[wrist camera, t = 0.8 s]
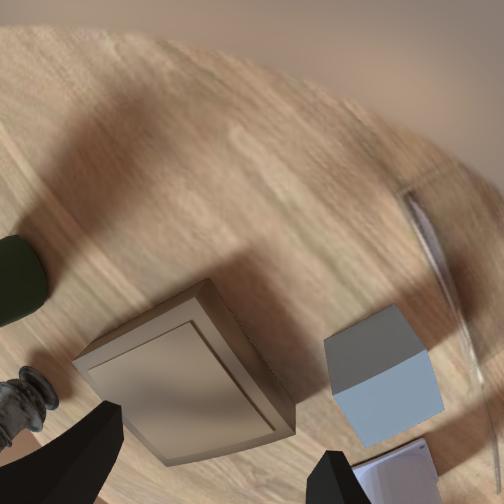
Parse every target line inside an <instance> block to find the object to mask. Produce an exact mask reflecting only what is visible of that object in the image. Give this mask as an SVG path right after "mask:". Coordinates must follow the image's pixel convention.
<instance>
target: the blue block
mask: <svg viewBox="0 0 504 504" xmlns="http://www.w3.org/2000/svg"><path fill="white" fill-rule="evenodd" d="M323 341H324V346H325V352H326V358H327V364H328V370H329V376H330V382H331V389H332V395H333V397H334V399H335V400H336V402H337V404H338V405H339V407H340V408H341V410H342V412H343V413H344V415H345V416H346V418H347V420H348V421H349V423H350V424H351V426H352V428H353V429H354V431H355V432H356V434H357V436H358V437H359V439H360V440H361V442H362V444H363V445H364V447H365V448H367V447H369V446H372V445H374V444H376V443H379V442H381V441H383V440H386V439H388V438H390V437H392V436H394V435H397V434H399V433H401V432H403V431H405V430H407V429H409V428H411V427H413V426H415V425H417V424H419V423H421V422H423V421H425V420H427V419H429V418H431V417H432V416H434V415H436V414H438V413H440V412H442V411H443V410H445V408H444V405H443V401H442V397H441V394H440V391H439V387H438V384H437V380H436V377H435V374H434V371H433V368H432V364H431V361H430V358H429V355H428V352H427V349H426V348H425V346H424V345H423V343H422V342H421V340H420V339H419V337H418V336H417V334H416V333H415V331H414V330H413V328H412V327H411V326H410V324H409V323H408V321H407V320H406V318H405V317H404V316H403V314H402V313H401V311H400V310H399V308H398V307H397V306H396V304H395V303H394V304H392V305H391V306H389V307H387V308H385V309H383V310H382V311H380V312H378V313H376V314H374V315H372V316H371V317H369V318H367V319H365V320H363V321H361V322H359V323H357V324H355V325H353V326H351V327H350V328H348V329H346V330H344V331H342V332H340V333H338V334H336V335H334V336H332V337H330V338H327V339H325V340H323Z"/></svg>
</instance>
